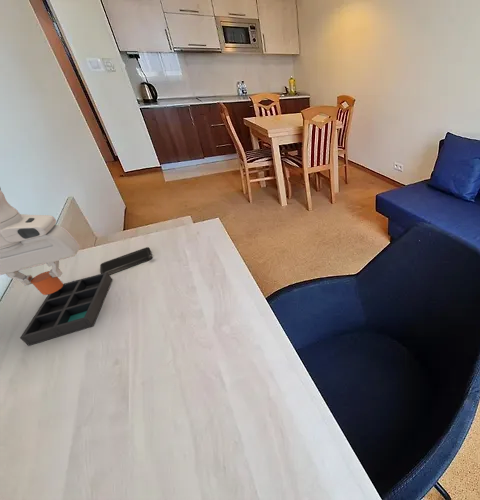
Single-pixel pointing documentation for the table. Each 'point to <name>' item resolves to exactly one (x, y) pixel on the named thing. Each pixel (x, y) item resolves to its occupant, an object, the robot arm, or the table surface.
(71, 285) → the grid
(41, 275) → the orange cylinder
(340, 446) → the table surface
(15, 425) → the table surface
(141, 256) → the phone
